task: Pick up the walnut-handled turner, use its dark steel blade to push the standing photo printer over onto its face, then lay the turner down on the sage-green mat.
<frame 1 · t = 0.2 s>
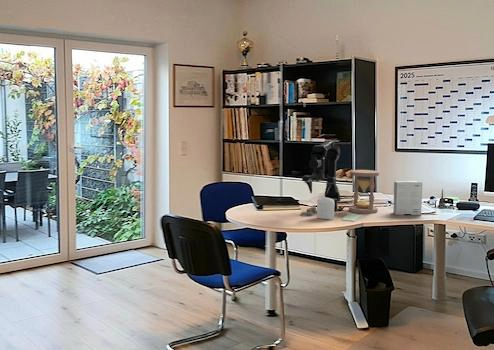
hand: (318, 193, 307), 14 cm above the table, tool pointing down, fingers open, 9 cm apart
hourglass: (363, 211, 330), on the table
photo printer: (325, 219, 306), on the table
hard drive box: (406, 214, 322), on the table
turner: (309, 213, 320), on the table
eiffel tower figurine: (441, 208, 344), on the table
mat: (351, 218, 308), on the table
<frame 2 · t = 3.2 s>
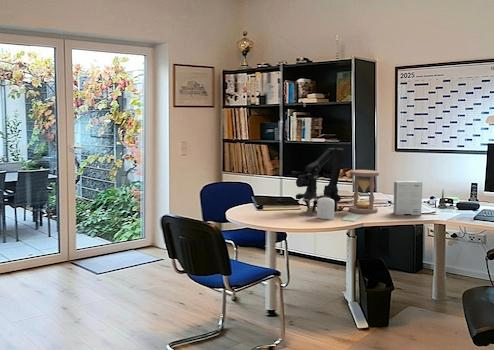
hand: (311, 211, 323), 1 cm above the table, tool pointing down, fingers closed on turner, 2 cm apart
turner: (309, 213, 320), on the table, touching gripper
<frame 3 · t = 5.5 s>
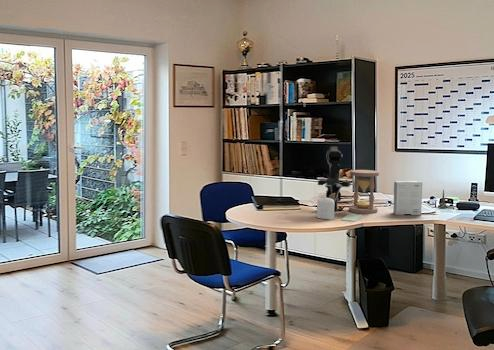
hand: (333, 197, 319), 10 cm above the table, tool pointing down, fingers closed on turner, 2 cm apart
turner: (332, 199, 316), point 9 cm above the table, touching gripper
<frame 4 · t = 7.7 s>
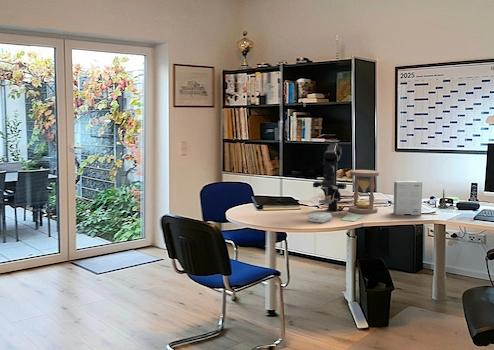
hand: (329, 199, 311), 10 cm above the table, tool pointing down, fingers closed on turner, 2 cm apart
photo printer: (324, 215, 304), point 2 cm above the table
turner: (327, 202, 308), point 9 cm above the table, touching gripper
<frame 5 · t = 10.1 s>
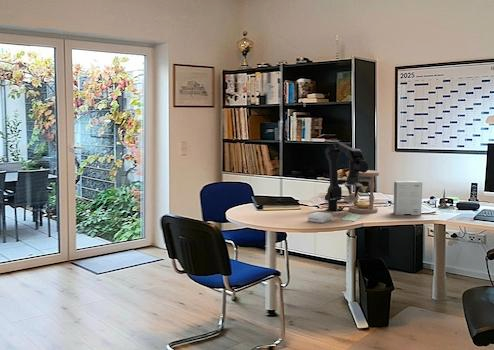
hand: (353, 197, 310), 12 cm above the table, tool pointing down, fingers closed on turner, 2 cm apart
turner: (351, 199, 307), point 11 cm above the table, touching gripper
when the fingers open (2 cm above the table, at t = 12.0 s): turner stays where it is, resting on mat.
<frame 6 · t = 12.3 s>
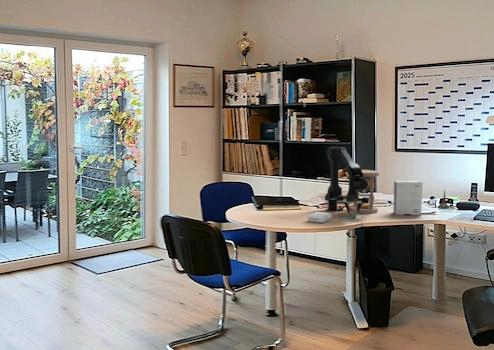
hand: (352, 213, 311), 2 cm above the table, tool pointing down, fingers open, 5 cm apart
turner: (351, 217, 308), resting on mat
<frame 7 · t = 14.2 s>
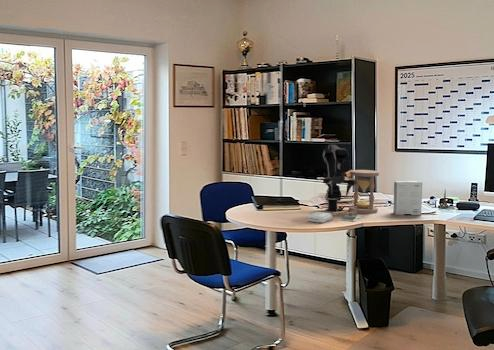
hand: (339, 195, 317), 12 cm above the table, tool pointing down, fingers open, 9 cm apart
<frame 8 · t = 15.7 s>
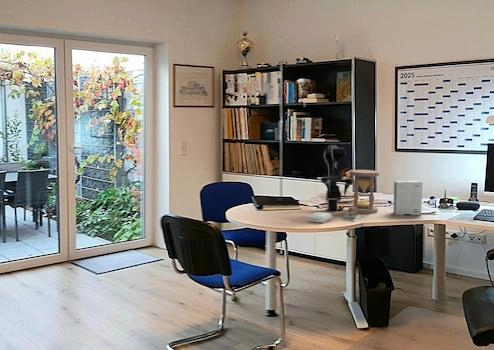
hand: (337, 194, 318), 12 cm above the table, tool pointing down, fingers open, 9 cm apart
at the end: photo printer tilted 90°; turner inside the target area on the mat (0.2 cm from its centre), point 0.4 cm above the mat's base; the gripper is holding nothing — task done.
